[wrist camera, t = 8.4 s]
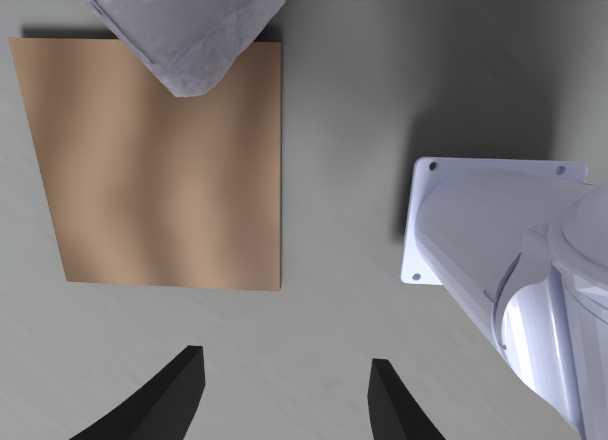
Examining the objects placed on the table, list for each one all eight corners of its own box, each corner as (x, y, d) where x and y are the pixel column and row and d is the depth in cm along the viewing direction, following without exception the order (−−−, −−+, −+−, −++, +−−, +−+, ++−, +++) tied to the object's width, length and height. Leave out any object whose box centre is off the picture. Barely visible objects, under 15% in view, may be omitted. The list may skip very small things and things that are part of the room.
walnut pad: (282, 47, 17) (280, 42, 16) (281, 284, 22) (279, 291, 21) (24, 42, 18) (8, 37, 17) (77, 275, 23) (66, 281, 22)
